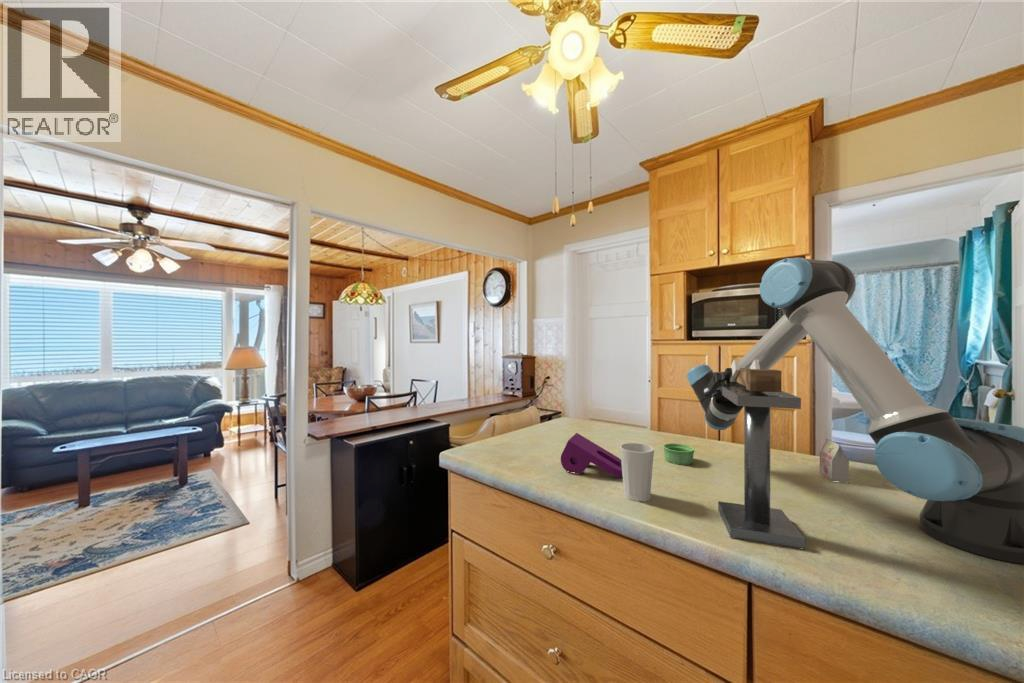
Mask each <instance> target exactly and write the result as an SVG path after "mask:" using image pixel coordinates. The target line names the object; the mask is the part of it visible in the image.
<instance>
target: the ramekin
mask: <svg viewBox="0 0 1024 683" xmlns="http://www.w3.org/2000/svg"><path fill="white" fill-rule="evenodd" d="M663 450H664V460H665V461H666V462H668V463H670V462H671V464H673V463H674V465H679V464H680V465H681V466H684V465H685V466H686V465H691V464H692V463H693V460H694V454H695V448H694V447H692V446H691V445H688V444H682V443H674V442H673V443H672V442H671V443H665V444H663Z"/></svg>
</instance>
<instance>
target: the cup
mask: <svg viewBox="0 0 1024 683" xmlns="http://www.w3.org/2000/svg"><path fill="white" fill-rule="evenodd" d="M619 450H620V459H621V463H622V475H623V478H622V486H623V496H624V495H625V496H624V497H625V498H626V497H627V498H626V499H628V498H629V499H628V500H630V499H631V500H630V501H633V500H635V501H634V502H640V501H643V502H648V501H650V500H651V498H652V497H651V496H652V495H651V494H652V479H653V478H652V477H653V464H654V456H655V455H654V454H655V448H654V447H653V446H651V445H649V444H644V443H639V442H625V443H622V444H620V446H619ZM649 499H650V500H649ZM647 500H648V501H647Z"/></svg>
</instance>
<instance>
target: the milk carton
mask: <svg viewBox="0 0 1024 683" xmlns="http://www.w3.org/2000/svg"><path fill="white" fill-rule="evenodd" d="M820 473H821V474H820ZM819 474H820V475H822V476H823V475H824V476H823V477H824V478H826V477H827V478H828V479H827V478H826V479H827V480H829V479H830V480H831V481H830V480H829V481H830V482H832V481H839V482H849V483H850V461H849V459H848V457H847V456H846V454H845V452H844V450H843V447H842V445H841V444H840V443H839V444H838V443H836V442H835V441H833V440H831V439H829V438H826V439H825V443H824V445H823V446H822V448H821V450H820V452H819ZM839 482H838V483H839Z"/></svg>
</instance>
